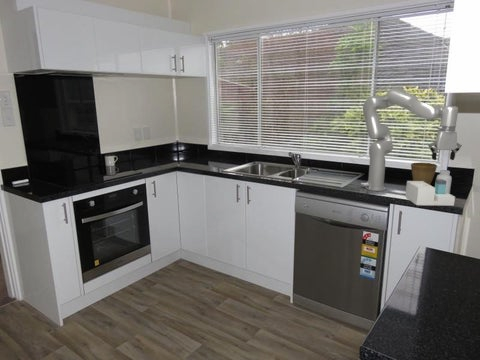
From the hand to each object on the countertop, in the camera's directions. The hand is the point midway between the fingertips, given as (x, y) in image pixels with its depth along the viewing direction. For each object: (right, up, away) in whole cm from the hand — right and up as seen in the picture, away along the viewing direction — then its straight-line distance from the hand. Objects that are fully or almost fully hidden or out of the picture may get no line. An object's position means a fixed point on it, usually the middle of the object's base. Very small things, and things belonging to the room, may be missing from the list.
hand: (442, 159), depth 194 cm
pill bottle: (+10, -21, +18) cm, 30 cm away
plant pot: (+5, -17, +33) cm, 38 cm away
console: (-5, -24, +6) cm, 25 cm away
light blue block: (+1, -22, +5) cm, 23 cm away
